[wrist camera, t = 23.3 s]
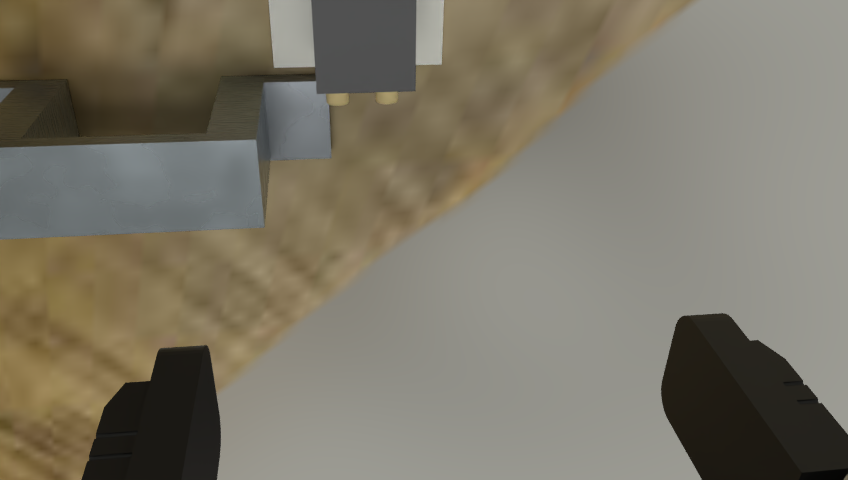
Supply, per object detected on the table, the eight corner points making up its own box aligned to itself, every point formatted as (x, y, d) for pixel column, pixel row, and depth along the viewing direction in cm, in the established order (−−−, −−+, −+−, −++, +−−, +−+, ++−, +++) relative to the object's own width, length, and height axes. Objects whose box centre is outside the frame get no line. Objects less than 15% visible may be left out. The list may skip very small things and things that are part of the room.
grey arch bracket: (-25, 161, 37) (-94, 243, 30) (-49, 81, 35) (-129, 151, 28) (330, 149, 39) (336, 224, 32) (327, 74, 37) (332, 137, 30)
